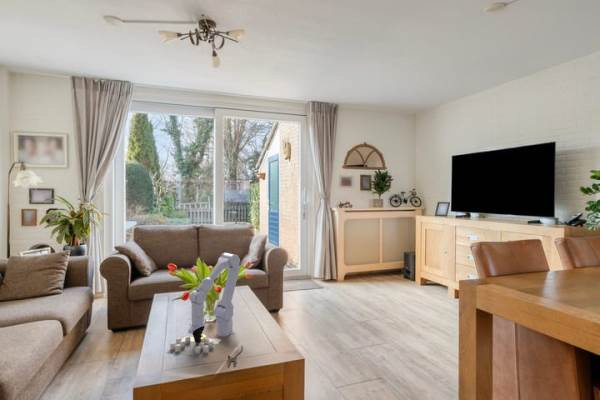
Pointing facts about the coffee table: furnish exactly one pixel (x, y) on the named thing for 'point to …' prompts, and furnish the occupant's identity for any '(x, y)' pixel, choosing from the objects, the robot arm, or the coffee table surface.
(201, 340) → the nut
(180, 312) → the coffee table surface
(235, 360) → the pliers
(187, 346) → the spacer board
